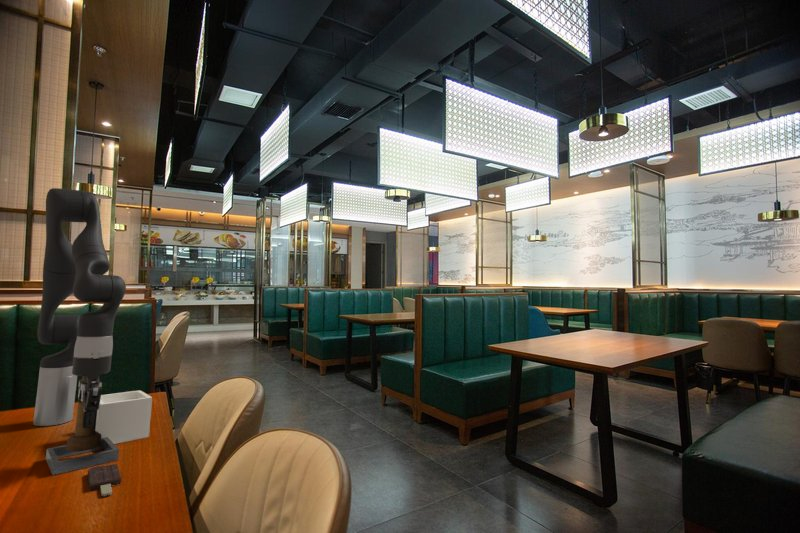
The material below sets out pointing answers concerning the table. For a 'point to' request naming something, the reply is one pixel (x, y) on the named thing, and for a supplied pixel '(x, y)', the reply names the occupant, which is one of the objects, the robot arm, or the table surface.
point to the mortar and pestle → (83, 432)
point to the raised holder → (124, 416)
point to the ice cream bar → (103, 478)
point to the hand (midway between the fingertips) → (86, 424)
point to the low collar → (82, 461)
